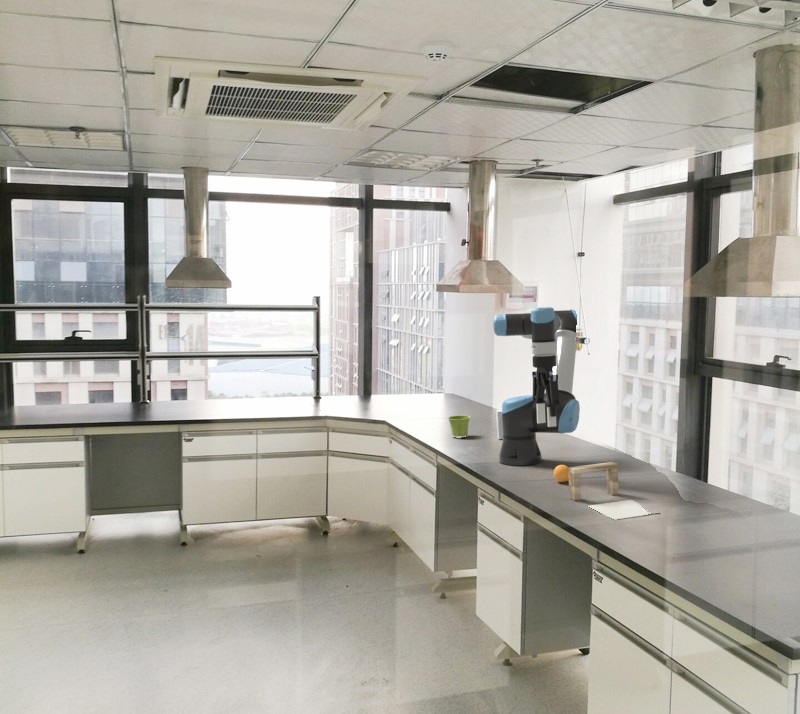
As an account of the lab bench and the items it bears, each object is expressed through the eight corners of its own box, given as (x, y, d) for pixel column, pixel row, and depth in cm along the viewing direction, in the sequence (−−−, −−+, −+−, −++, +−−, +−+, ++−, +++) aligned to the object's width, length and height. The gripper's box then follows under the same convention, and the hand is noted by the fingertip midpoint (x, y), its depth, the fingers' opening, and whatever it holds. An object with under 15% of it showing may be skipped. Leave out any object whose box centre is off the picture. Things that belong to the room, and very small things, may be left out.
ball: (550, 481, 241) (550, 464, 241) (566, 479, 243) (565, 462, 242) (558, 485, 236) (558, 467, 236) (574, 482, 238) (574, 465, 237)
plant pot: (469, 439, 316) (468, 419, 315) (447, 439, 318) (446, 419, 317) (472, 435, 325) (471, 415, 324) (451, 435, 327) (450, 415, 326)
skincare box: (511, 437, 315) (510, 409, 314) (513, 439, 311) (512, 410, 310) (496, 438, 315) (495, 409, 314) (498, 440, 311) (497, 411, 310)
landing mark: (587, 506, 212) (587, 505, 212) (630, 500, 216) (630, 499, 216) (614, 520, 198) (614, 519, 198) (660, 513, 202) (660, 512, 202)
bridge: (569, 498, 221) (568, 467, 220) (613, 492, 225) (612, 461, 224) (574, 500, 218) (573, 469, 217) (618, 494, 222) (617, 463, 221)
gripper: (520, 353, 254) (523, 421, 256) (547, 357, 235) (550, 430, 237) (540, 352, 256) (543, 419, 258) (569, 356, 237) (571, 428, 239)
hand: (546, 424), depth 247 cm, fingers open, 7 cm apart
